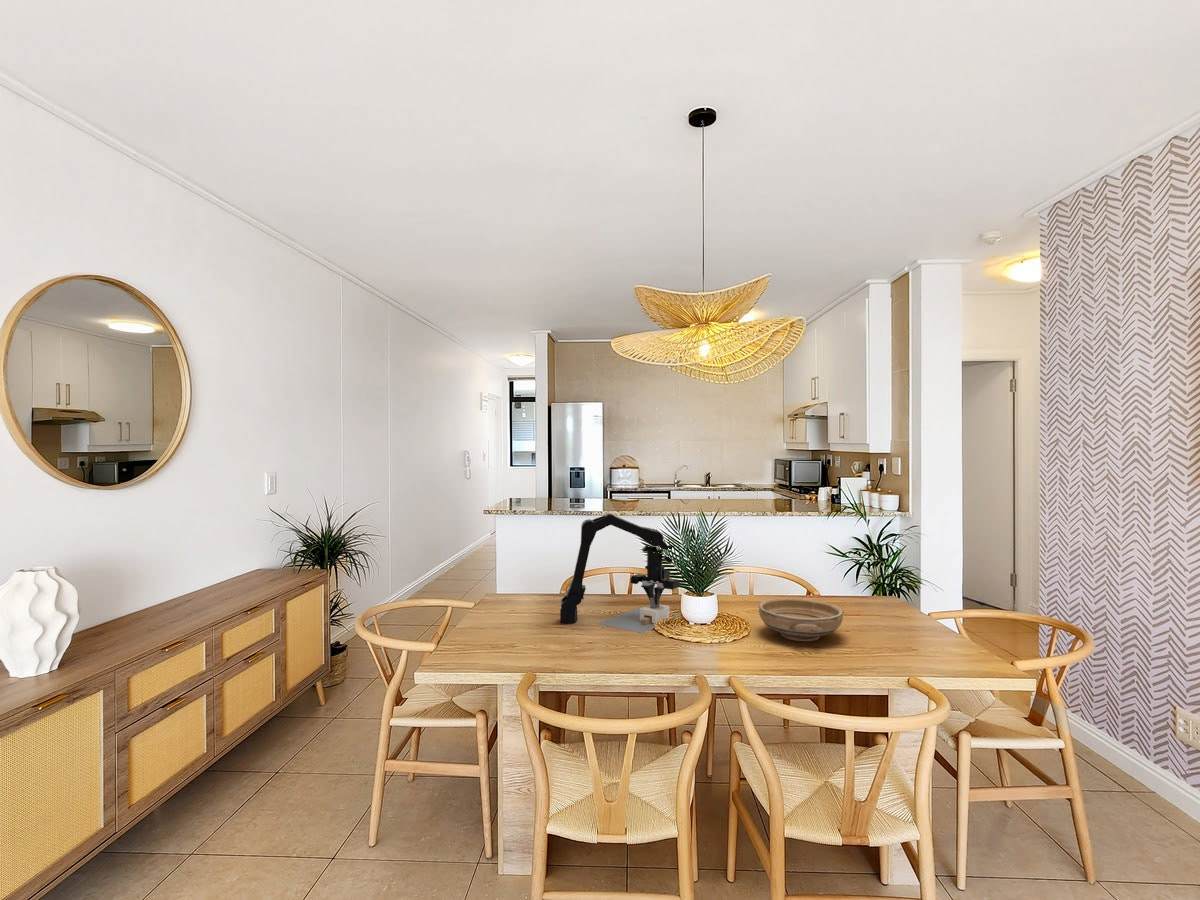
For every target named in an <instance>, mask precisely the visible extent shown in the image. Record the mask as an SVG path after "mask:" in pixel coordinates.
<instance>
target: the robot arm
mask: <svg viewBox="0 0 1200 900" xmlns="http://www.w3.org/2000/svg"><path fill="white" fill-rule="evenodd" d="M609 526H612V527H615V528H617V529H620V530H621V531H622V530H623V531H625V532H627V533H630V534H632V535H635V536H637V537H639V538H640V539H641V540H644V542H646V543H648V544H649V545H651V546H649V545H647V544H645V545H644V547H642V549H641V550H642V551H643V553H646V563H647V564H646V565H645V567H644V569H645V570H646V573H647V574H643V573H636V574H633V575H631V577H630V584H633V585H637V584H639V583H640V582H641V583H642V585H641V588H643V590H644V592H645V593H646V595H647V597H648V600H649V601H650V597H653V596H655V604H656V605H657V604H658V602H659V603H660V600H661V596H662V593H663V592H664V590H665V589H666V590H676V589H677V588H680V580H679V579H677V578H676V579H675V578H671V577H670V575H671V571H670V570H668V569H665V565H663V561H665V562H666V563H667V564H674V563H673V562H672V560H671V559H670V558H669V557H666V556H664V557H663V549H668V548H669V549H672V546H671V545H672V544H671V545H669V544H668V543H666V542H665V541H664V535H663V534H662V533H661V532H660V531H659V530H658V529H655V528H650V527H645V526H641V525H638V524H635V523H633V522H632V521H631V522H630V521H629V520H627V519H624V518H621V517H619V516H616V515H614V514H613V513H611V512H610V513H607V514H605V515H602V516H600V517H596V518H593V519H585V520H583V521H582V523H581V527H580V545H579V549H578V553H577V554H578V555H577V558H576V563H575V567H574V571H573V575H572V578H571V581H570V583H569V585H568V588H567V590H566V595H565V596H563V597H562V599H560V609H559V613H560V615H559V622H560V624H562V625H573V624H576V623H577V621H578V605H579V604H581V603H582V600H584V596H585V595H584V594H585V593H586V590H587V588H586V585H584V584H583V581H584V576H585V571H586V566H587V562H588V557H589V554H590V548H591V545H592V543H593V540H594V539H595V536H596V534H597V532H598V531H601V530H603V529H605V528H606V527H609ZM651 541H652V542H651ZM658 547H659V548H658ZM653 552H655V553H658V552H659V553H662V554H653ZM655 586H656V587H655Z"/></svg>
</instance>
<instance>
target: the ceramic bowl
mask: <svg viewBox="0 0 1200 900" xmlns="http://www.w3.org/2000/svg"><path fill="white" fill-rule="evenodd" d="M758 614H759V616H760V619H761V621H762V622H763V623H764V624H765V626H767V627H768V628H770V629H771V630H773V631H776V632H778V633H780V636H781V637H783V638H785V639H787V640H791V641H795V642H815V641H817V640H819V639H820V637H823V636H827V635H829V634H832V633H834V632H835V631H837V630H838V629H839V628H840V626H841V625H842V622H843V619H844V610H843V609H842V608H841V607H840V606H837V605H835V604H833V603H829V602H825V601H821V600H816V599H809V598H800V597H780V598H771V599H766V600H763V601H761V602H759V603H758Z"/></svg>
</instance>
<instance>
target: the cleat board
mask: <svg viewBox="0 0 1200 900" xmlns="http://www.w3.org/2000/svg"><path fill="white" fill-rule="evenodd" d="M640 608H643V607H641V606H638V607H636V608H633V609H631V610H629V611H626V612H623V613H621V614H618V615H616V616H613V617H611V618H608V619H605V620H603V621H600V622H597V623H596V625H599V626H605V627H609V628H614V629H619V630H624V631H629V632H634V633H638V634H644V633H645V632H648V631H650V630H652V629H655V628H656V627H655V625H654V623H652V616H647V617H645V618H643V619H641V621H640ZM669 614H672V615H674V616H679V617H682V616H681V613H676V612H672V611H671V612H670V611H669Z"/></svg>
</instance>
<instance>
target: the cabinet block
mask: <svg viewBox="0 0 1200 900" xmlns="http://www.w3.org/2000/svg"><path fill="white" fill-rule="evenodd" d="M649 603H650V604H649V605H646V606H644V607H643V608H640V621H641V619H643V618H645V617H647V616H652V623H655V624H656V623H657V622H659V621H660V620H663V619H666V618H669V612H670V605H666V604H661V603H660V601H659V602H658V604H657V605H656V604H655V595H654V596H653V597H650V600H649Z"/></svg>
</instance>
